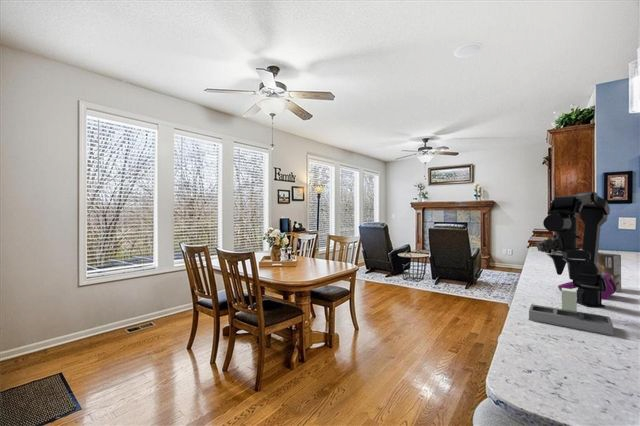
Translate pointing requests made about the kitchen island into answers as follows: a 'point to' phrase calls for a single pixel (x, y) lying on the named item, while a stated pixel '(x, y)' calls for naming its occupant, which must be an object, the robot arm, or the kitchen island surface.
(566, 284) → the mounting bracket
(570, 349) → the kitchen island surface
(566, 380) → the kitchen island surface
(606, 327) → the slotted holder
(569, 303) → the peg
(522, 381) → the kitchen island surface
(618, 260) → the coffee box
